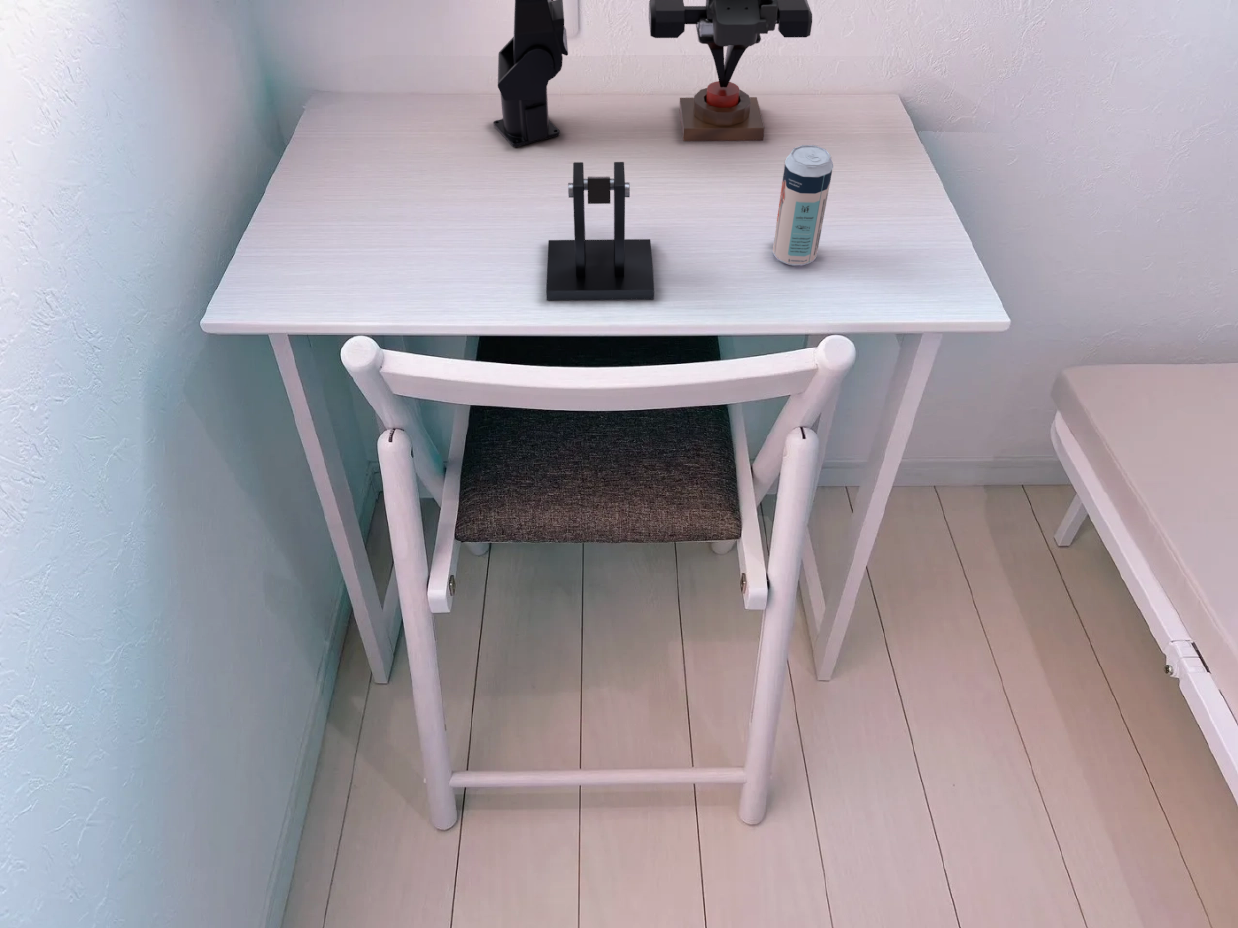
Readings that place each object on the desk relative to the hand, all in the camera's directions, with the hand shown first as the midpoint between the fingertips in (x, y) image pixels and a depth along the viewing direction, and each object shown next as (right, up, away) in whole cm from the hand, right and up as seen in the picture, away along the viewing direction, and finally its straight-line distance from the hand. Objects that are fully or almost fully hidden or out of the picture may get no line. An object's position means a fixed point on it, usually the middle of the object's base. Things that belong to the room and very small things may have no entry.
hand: (723, 86), depth 121 cm
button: (0, -1, +2) cm, 2 cm away
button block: (0, -3, +4) cm, 5 cm away
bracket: (-15, -27, -18) cm, 35 cm away
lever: (-15, -20, -21) cm, 32 cm away
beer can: (+6, -24, -15) cm, 29 cm away
